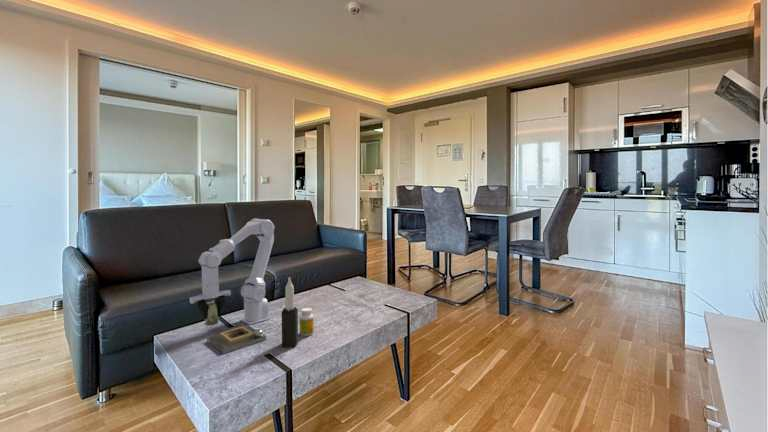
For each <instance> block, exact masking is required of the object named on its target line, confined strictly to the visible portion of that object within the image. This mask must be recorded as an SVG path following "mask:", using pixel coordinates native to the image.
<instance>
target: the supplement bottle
mask: <svg viewBox="0 0 768 432" xmlns="http://www.w3.org/2000/svg"><path fill="white" fill-rule="evenodd" d="M314 318H315V317H314V314H313V309H312V308H311V307H303V308H301V314H300V315H299V335H301V336H304V337H307V336H311V335H313V334H314V333H315V331H314V326H315V325H314V324H315V323H314V322H315V320H314Z"/></svg>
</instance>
